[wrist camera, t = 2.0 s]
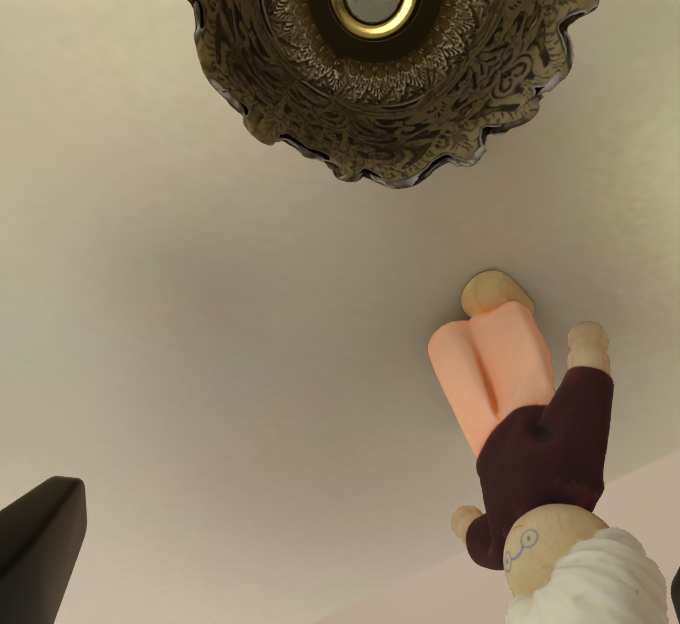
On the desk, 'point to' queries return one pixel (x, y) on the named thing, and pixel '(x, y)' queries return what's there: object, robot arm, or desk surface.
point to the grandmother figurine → (541, 464)
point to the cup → (385, 76)
